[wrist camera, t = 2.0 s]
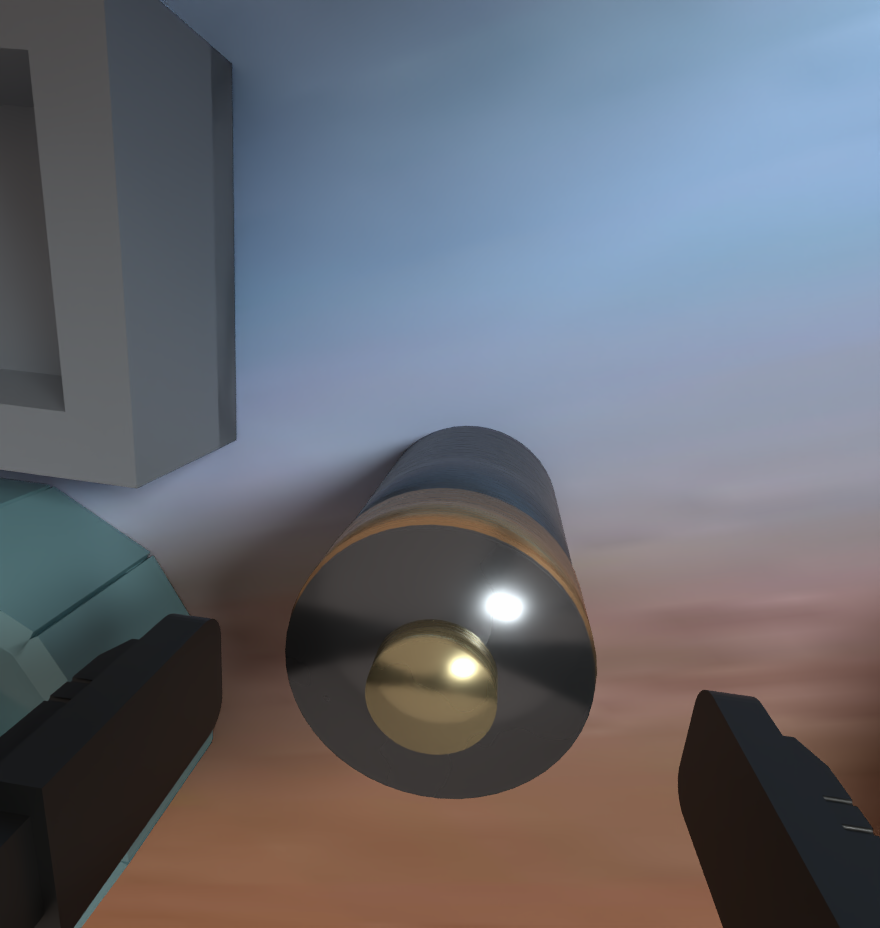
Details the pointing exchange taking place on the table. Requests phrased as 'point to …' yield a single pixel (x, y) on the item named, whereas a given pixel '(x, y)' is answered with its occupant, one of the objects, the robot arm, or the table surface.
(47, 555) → the cup
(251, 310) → the table surface
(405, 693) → the cell
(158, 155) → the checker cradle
